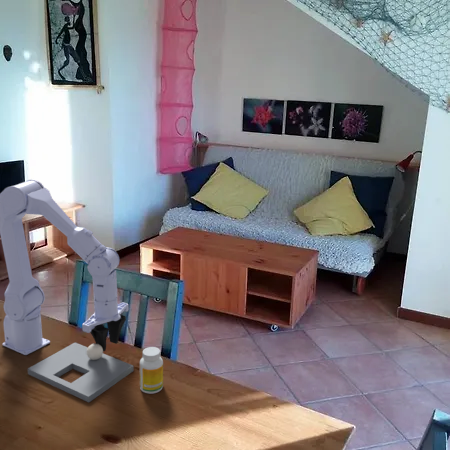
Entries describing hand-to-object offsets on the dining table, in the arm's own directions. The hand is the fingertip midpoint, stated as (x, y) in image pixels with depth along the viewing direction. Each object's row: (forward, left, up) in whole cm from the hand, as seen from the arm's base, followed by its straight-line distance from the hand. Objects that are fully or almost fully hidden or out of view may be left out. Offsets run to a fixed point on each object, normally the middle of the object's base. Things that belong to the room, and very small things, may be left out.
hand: (107, 346), depth 129 cm
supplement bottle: (+18, -5, -3) cm, 19 cm away
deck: (0, -9, -3) cm, 10 cm away
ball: (0, -5, +1) cm, 5 cm away
